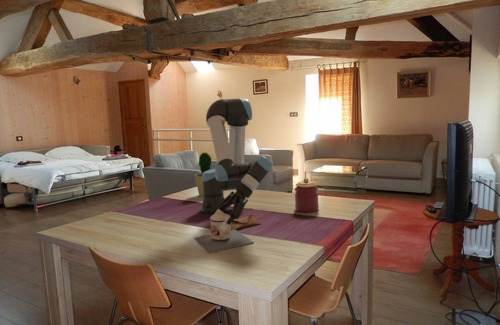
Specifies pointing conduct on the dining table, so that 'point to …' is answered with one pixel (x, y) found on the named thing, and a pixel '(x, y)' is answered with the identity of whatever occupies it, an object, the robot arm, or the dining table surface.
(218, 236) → the teacup with lid
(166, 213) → the dining table surface
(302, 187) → the canister
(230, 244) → the charcoal mat
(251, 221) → the sunglasses case
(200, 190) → the potted cactus
